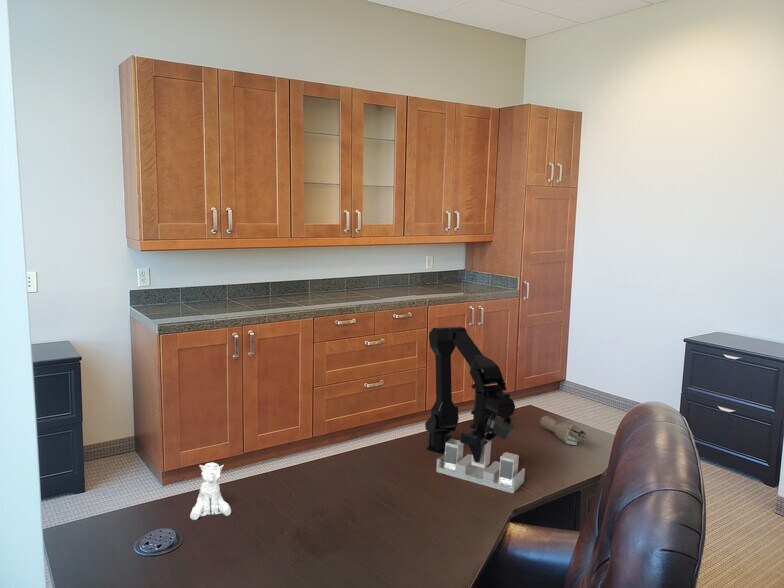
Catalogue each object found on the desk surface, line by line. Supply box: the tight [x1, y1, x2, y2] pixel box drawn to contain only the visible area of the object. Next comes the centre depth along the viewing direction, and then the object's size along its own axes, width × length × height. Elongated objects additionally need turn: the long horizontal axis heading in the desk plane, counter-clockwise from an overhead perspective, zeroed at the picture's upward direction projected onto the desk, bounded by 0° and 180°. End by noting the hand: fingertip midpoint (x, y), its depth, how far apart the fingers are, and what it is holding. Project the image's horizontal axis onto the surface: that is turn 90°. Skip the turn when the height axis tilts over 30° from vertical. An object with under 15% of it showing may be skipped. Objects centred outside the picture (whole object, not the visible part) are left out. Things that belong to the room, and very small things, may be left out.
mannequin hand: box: [539, 415, 588, 446], centre depth 210 cm, size 7×7×25 cm
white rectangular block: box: [471, 439, 492, 468], centre depth 176 cm, size 4×4×7 cm
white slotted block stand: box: [435, 438, 526, 494], centre depth 176 cm, size 24×9×8 cm, turn 59°
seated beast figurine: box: [189, 462, 232, 521], centre depth 149 cm, size 10×9×12 cm
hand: (480, 459), depth 176 cm, fingers closed on white rectangular block, 4 cm apart
